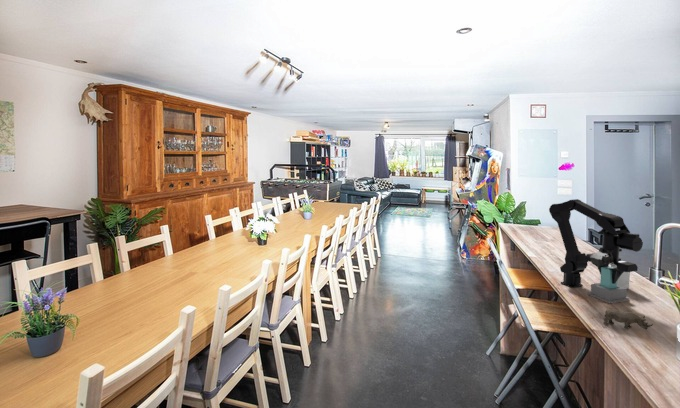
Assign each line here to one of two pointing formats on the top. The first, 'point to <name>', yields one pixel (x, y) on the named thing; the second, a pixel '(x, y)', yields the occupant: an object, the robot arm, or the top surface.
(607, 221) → the robot arm
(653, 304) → the top surface
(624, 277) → the skincare box
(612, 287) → the teal peg
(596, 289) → the socket block
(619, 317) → the rhino figurine
